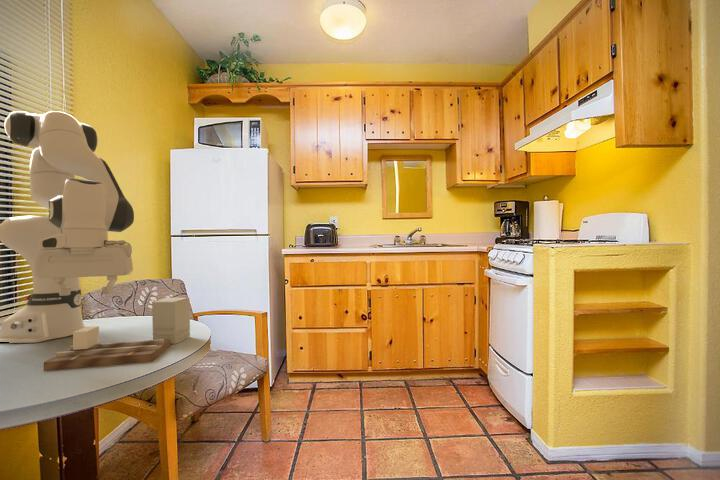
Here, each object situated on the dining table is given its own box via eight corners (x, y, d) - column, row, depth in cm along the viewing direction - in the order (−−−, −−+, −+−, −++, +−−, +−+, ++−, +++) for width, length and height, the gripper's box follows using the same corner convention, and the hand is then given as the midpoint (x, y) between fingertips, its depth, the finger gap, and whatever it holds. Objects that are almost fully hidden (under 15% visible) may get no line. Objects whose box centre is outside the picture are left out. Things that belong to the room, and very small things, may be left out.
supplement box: (190, 337, 100) (190, 297, 100) (175, 344, 93) (174, 301, 93) (169, 336, 101) (168, 297, 101) (151, 344, 94) (151, 301, 94)
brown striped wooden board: (43, 370, 75) (43, 357, 75) (77, 353, 86) (76, 342, 86) (152, 361, 80) (152, 349, 80) (170, 346, 91) (170, 335, 91)
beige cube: (68, 354, 79) (68, 332, 79) (81, 347, 84) (81, 327, 84) (91, 352, 80) (91, 331, 80) (103, 346, 85) (103, 325, 85)
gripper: (137, 240, 87) (137, 290, 87) (48, 241, 83) (49, 294, 82) (125, 240, 81) (126, 294, 81) (29, 241, 77) (29, 298, 76)
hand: (86, 294), depth 82 cm, fingers open, 8 cm apart
